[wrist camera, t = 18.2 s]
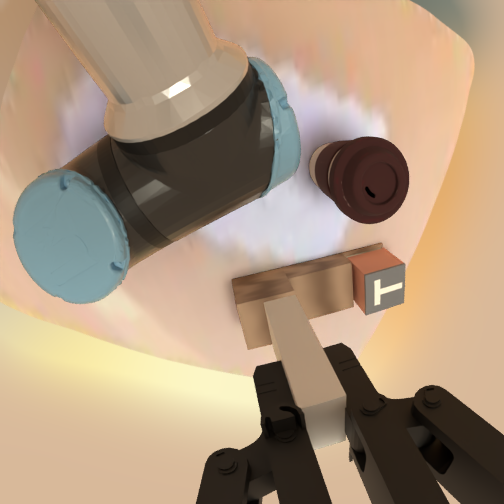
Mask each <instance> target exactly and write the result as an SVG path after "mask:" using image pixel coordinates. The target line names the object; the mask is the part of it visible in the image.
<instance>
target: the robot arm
mask: <svg viewBox="0 0 504 504" xmlns="http://www.w3.org/2000/svg"><path fill="white" fill-rule="evenodd" d="M35 1H36V2H37V4H38V5H39V7H40V8H41V10H42V11H43V12H44V14H45V15H46V16H47V18H48V19H49V21H50V22H51V23H52V25H53V26H54V27H55V29H56V30H57V31H58V33H59V34H60V36H61V37H62V38H63V40H64V41H65V42H66V44H67V45H68V46H69V48H70V49H71V50H72V52H73V53H74V54H75V56H76V57H77V58H78V60H79V61H80V62H81V64H82V65H83V66H84V68H85V69H86V70H87V72H88V73H89V74H90V76H91V77H92V78H93V80H94V81H95V82H96V84H97V85H98V86H99V88H100V89H101V90H102V92H103V93H104V94H105V96H106V97H107V98H108V103H107V107H106V111H105V116H104V127H105V130H106V131H107V133H108V135H106V136H105V137H104V138H102V139H100V140H99V141H98V142H96V143H95V144H93V145H92V146H91V147H89V148H88V149H86V150H85V151H84V152H82V153H81V154H80V155H78V156H77V157H76V158H74V159H73V160H72V161H70V162H69V163H68V164H66V165H65V166H63V167H62V168H60V169H55V170H50V171H48V172H47V173H43V174H41V175H40V176H38V177H37V179H36V180H34V181H33V182H32V183H30V184H29V185H28V186H27V187H26V188H25V190H24V191H23V192H22V194H21V195H20V197H19V199H18V202H17V204H16V207H15V211H14V215H13V225H14V234H13V238H14V244H15V248H16V251H17V254H18V256H19V259H20V261H21V263H22V265H23V267H24V268H25V270H26V271H27V273H28V274H29V276H30V277H31V278H32V279H33V280H34V282H35V283H36V284H38V285H39V286H40V287H41V288H42V289H43V290H44V291H46V292H47V293H49V294H50V295H52V296H54V297H59V298H62V299H63V300H64V301H66V302H69V303H75V304H87V303H93V302H96V301H99V300H101V299H103V298H105V297H106V296H108V295H109V294H110V293H111V292H112V291H113V290H115V289H116V288H117V286H118V285H120V284H121V283H122V280H124V279H125V277H126V274H127V271H128V269H129V268H131V267H132V266H134V265H135V264H137V263H139V262H140V261H142V260H144V259H145V258H147V257H149V256H150V255H152V254H154V253H156V252H157V251H159V250H161V249H162V248H164V247H166V246H168V245H169V244H171V243H173V242H174V241H178V240H179V239H181V238H183V237H185V236H187V235H189V234H191V233H192V232H194V231H196V230H198V229H200V228H202V227H204V226H206V225H207V224H209V223H211V222H213V221H215V220H217V219H219V218H221V217H223V216H225V215H227V214H228V213H230V212H232V211H234V210H236V209H238V208H240V207H242V206H244V205H246V204H248V203H250V202H252V201H254V200H256V199H258V198H261V197H264V196H265V195H266V194H267V193H268V192H269V191H270V190H271V189H273V188H275V187H276V186H278V185H280V184H281V183H283V182H285V181H286V180H288V179H289V178H291V177H292V176H293V174H294V173H295V172H296V170H297V168H298V165H299V161H300V156H301V145H300V135H299V129H298V125H297V121H296V117H295V114H294V111H293V109H292V108H291V107H290V106H289V104H288V103H287V94H286V92H285V90H284V88H283V86H282V84H281V82H280V80H279V79H278V77H277V75H276V74H275V73H274V71H273V70H272V69H271V68H270V67H269V66H268V65H267V64H266V63H265V62H264V61H262V60H261V59H259V58H256V57H249V58H248V57H247V55H246V53H245V51H244V50H243V49H242V48H241V47H240V46H238V45H236V44H234V43H232V42H228V41H225V40H222V39H219V38H216V37H215V35H214V32H213V30H212V28H211V26H210V24H209V21H208V19H207V17H206V15H205V12H204V10H203V8H202V6H201V4H200V2H199V0H35ZM264 306H265V311H266V316H267V321H268V325H269V330H270V335H271V340H272V344H273V349H274V352H275V355H276V358H277V362H272V363H268V364H264V365H260V366H256V369H255V372H254V375H253V378H254V383H255V388H256V393H257V398H258V403H259V407H260V412H261V428H262V434H261V435H260V437H259V438H258V439H257V440H256V441H255V442H254V443H252V444H251V445H249V446H247V447H245V448H243V449H241V450H238V449H234V448H224V449H220V450H218V451H216V452H214V453H213V454H212V455H210V456H209V458H208V459H207V461H206V463H205V468H204V472H203V476H202V480H201V484H200V489H199V493H198V497H197V501H196V504H262V497H263V496H265V495H267V494H269V493H271V492H273V491H275V490H277V494H278V499H279V503H280V504H332V502H331V499H330V496H329V493H328V490H327V487H326V485H325V482H324V479H323V476H322V473H321V470H320V467H319V464H318V461H317V458H316V455H315V453H314V450H316V449H319V448H323V447H326V446H329V445H333V444H336V443H339V442H342V441H345V440H346V435H347V438H348V440H349V442H350V448H349V460H350V462H351V461H352V460H354V462H355V465H356V467H357V469H358V472H359V474H360V477H361V479H362V481H363V483H364V486H365V488H366V491H367V493H368V496H369V498H370V500H371V503H372V504H449V502H448V500H447V498H446V496H445V495H444V493H443V491H442V489H441V488H440V486H439V484H438V483H437V481H438V482H439V483H440V484H441V485H442V486H443V487H444V488H445V489H446V490H447V491H448V492H449V493H450V494H451V495H453V497H454V498H456V500H458V502H460V503H461V504H504V435H503V434H502V433H501V432H499V431H498V430H496V429H495V428H494V427H493V426H492V425H490V424H489V423H488V422H486V421H485V420H484V419H483V418H481V417H480V416H479V415H477V414H476V413H475V412H474V411H472V410H471V409H470V408H468V407H467V406H466V405H465V404H463V403H462V402H461V401H460V400H458V399H457V398H456V397H454V396H453V395H452V394H451V393H449V392H448V391H447V390H445V389H443V388H442V387H440V386H435V385H429V386H425V387H423V388H421V389H419V390H418V391H417V392H416V394H415V396H414V397H411V398H404V399H390V398H386V397H385V396H384V395H382V394H379V393H378V392H377V391H376V389H375V388H374V386H373V384H372V383H371V381H370V379H369V378H368V376H367V374H366V373H365V371H364V369H363V368H362V366H361V365H360V363H359V361H358V360H357V359H356V356H355V355H354V353H353V351H352V350H351V349H350V348H349V347H347V346H346V345H344V344H343V343H339V344H336V345H332V346H329V347H325V348H322V346H321V344H320V342H319V340H318V338H317V336H316V334H315V332H314V330H313V328H312V326H311V324H310V322H309V321H308V319H307V317H306V315H305V313H304V311H303V309H302V307H301V305H300V303H299V301H298V299H297V297H296V295H292V296H288V297H284V298H280V299H276V300H271V301H267V302H264Z"/></svg>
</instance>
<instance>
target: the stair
mask: <svg viewBox="0 0 504 504" xmlns="http://www.w3.org/2000/svg"><path fill="white" fill-rule="evenodd" d="M381 248H383V247H382V243H378V244H375V245H371V246H367V247H363V248H359V249H355V250H351V251H347V252H343V253H339V254H335V255H331V256H327V257H323V258H319V259H315V260H311V261H307V262H303V263H299V264H294V265H290V266H286V267H282V268H278V269H274V270H269V271H265V272H261V273H257V274H253V275H248V276H244V277H240V278H235V279H232V284H233V290H234V296H235V302H236V307H237V310H238V314H239V318H240V322H241V326H242V329H243V333H244V337H245V341H246V344H247V348H248V350H250V349H254V348H258V347H262V346H267V345H271V344H272V340H271V335H270V330H269V325H268V321H267V316H266V311H265V306H264V302H267V301H271V300H276V299H280V298H284V297H288V296H292V295H296V297H297V299H298V301H299V303H300V305H301V307H302V309H303V311H304V313H305V315H306V317H307V319H308V320H309V319H313V318H316V317H320V316H323V315H327V314H331V313H334V312H338V311H341V310H345V309H348V308H351V307H354V302H353V281H352V264H351V262H350V261H349V260H348V259H347V257H350V256H354V255H358V254H362V253H366V252H370V251H374V250H377V249H381Z"/></svg>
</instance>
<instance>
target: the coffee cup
mask: <svg viewBox="0 0 504 504" xmlns="http://www.w3.org/2000/svg"><path fill="white" fill-rule="evenodd" d="M309 171H310V175H311V178H312V180H313V181H314V183H315V184H316V185H317V186H318V187H319V188H320V189H321V190H322V191H323V193H324V194H326V195H327V196H328V197H329V198H331V199H332V200H333V201H334V202H335V204H336V205H337V207H338V208H339V209H340V210H341V211H342V212H343V213H344V214H345V215H346V216H348V217H349V218H351V219H353V220H355V221H357V222H359V223H364V224H375V223H379V222H382V221H384V220H386V219H388V218H390V217H391V216H392V215H393V214H395V213H396V212H397V211H398V209H399V208H400V207H401V205H402V203H403V202H404V200H405V198H406V195H407V192H408V187H409V171H408V166H407V163H406V160H405V158H404V157H403V155H402V153H401V152H400V150H399V149H398V148H397V147H396V146H395V145H394V144H392V143H391V142H389V141H387V140H385V139H383V138H378V137H369V136H368V137H360V138H356V139H354V140H347V141H337V142H333V143H327V144H324V145H322V146H320V147H319V148H318V149H317V150H316V151H315V152H314V153H313V155H312V157H311V159H310V163H309Z"/></svg>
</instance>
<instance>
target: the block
mask: <svg viewBox="0 0 504 504" xmlns="http://www.w3.org/2000/svg"><path fill="white" fill-rule="evenodd" d="M347 259H348V260H349V261H350V262H351V264H352V281H353V300H354V301H355V302H356V303H357V305H358V306H359V307H360V308H361V310H362V311H363V312H364V313H365V315H369V314H372V313H375V312H378V311H381V310H384V309H387V308H390V307H393V306H396V305H399V304H402V303H404V289H405V263H403V262H402V261H401V260H399V259H398V258H397V257H395V256H394V255H393V254H391V253H390V252H389V251H387V250H386V249H385V248H381V249H377V250H374V251H370V252H366V253H362V254H358V255H354V256H350V257H347Z"/></svg>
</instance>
